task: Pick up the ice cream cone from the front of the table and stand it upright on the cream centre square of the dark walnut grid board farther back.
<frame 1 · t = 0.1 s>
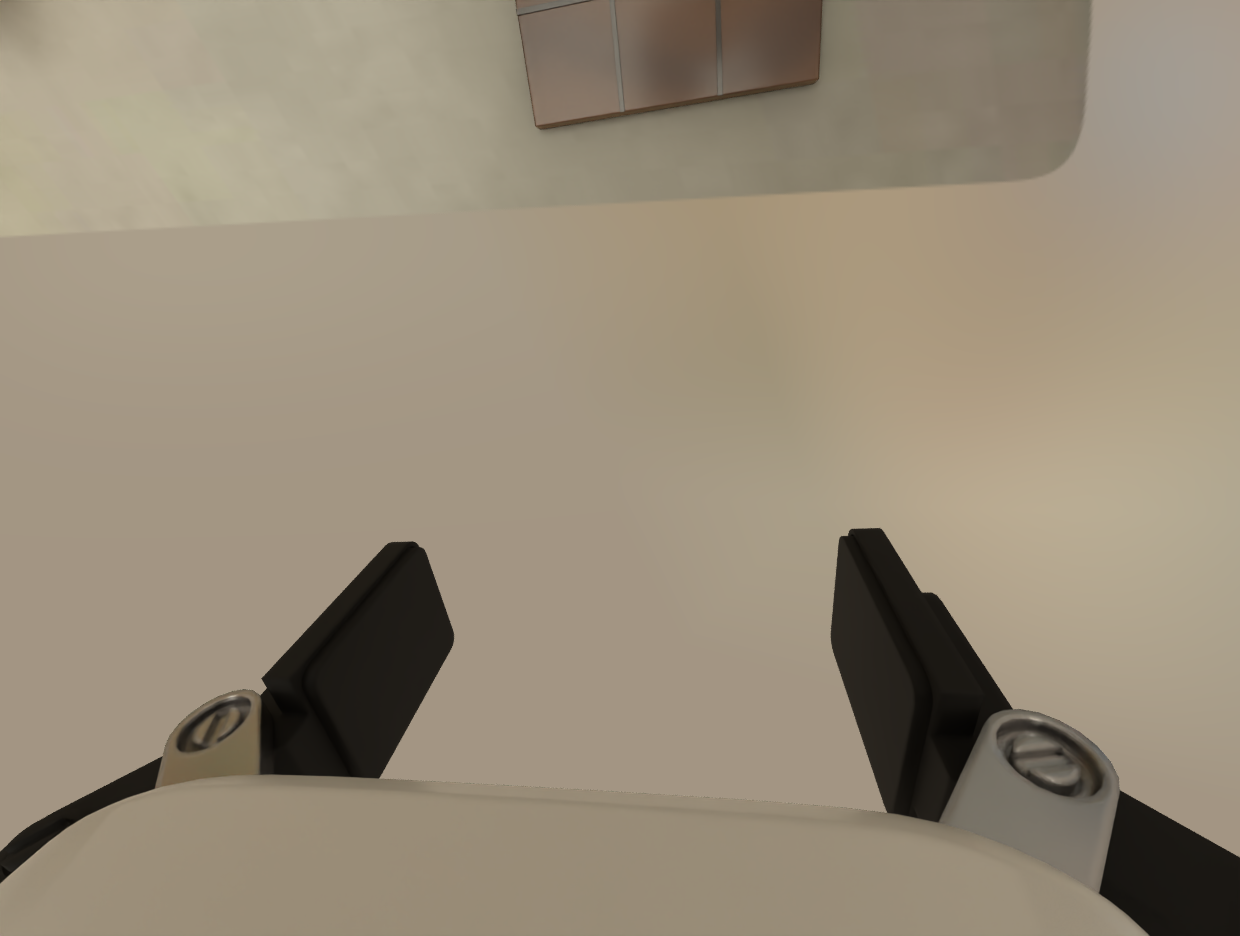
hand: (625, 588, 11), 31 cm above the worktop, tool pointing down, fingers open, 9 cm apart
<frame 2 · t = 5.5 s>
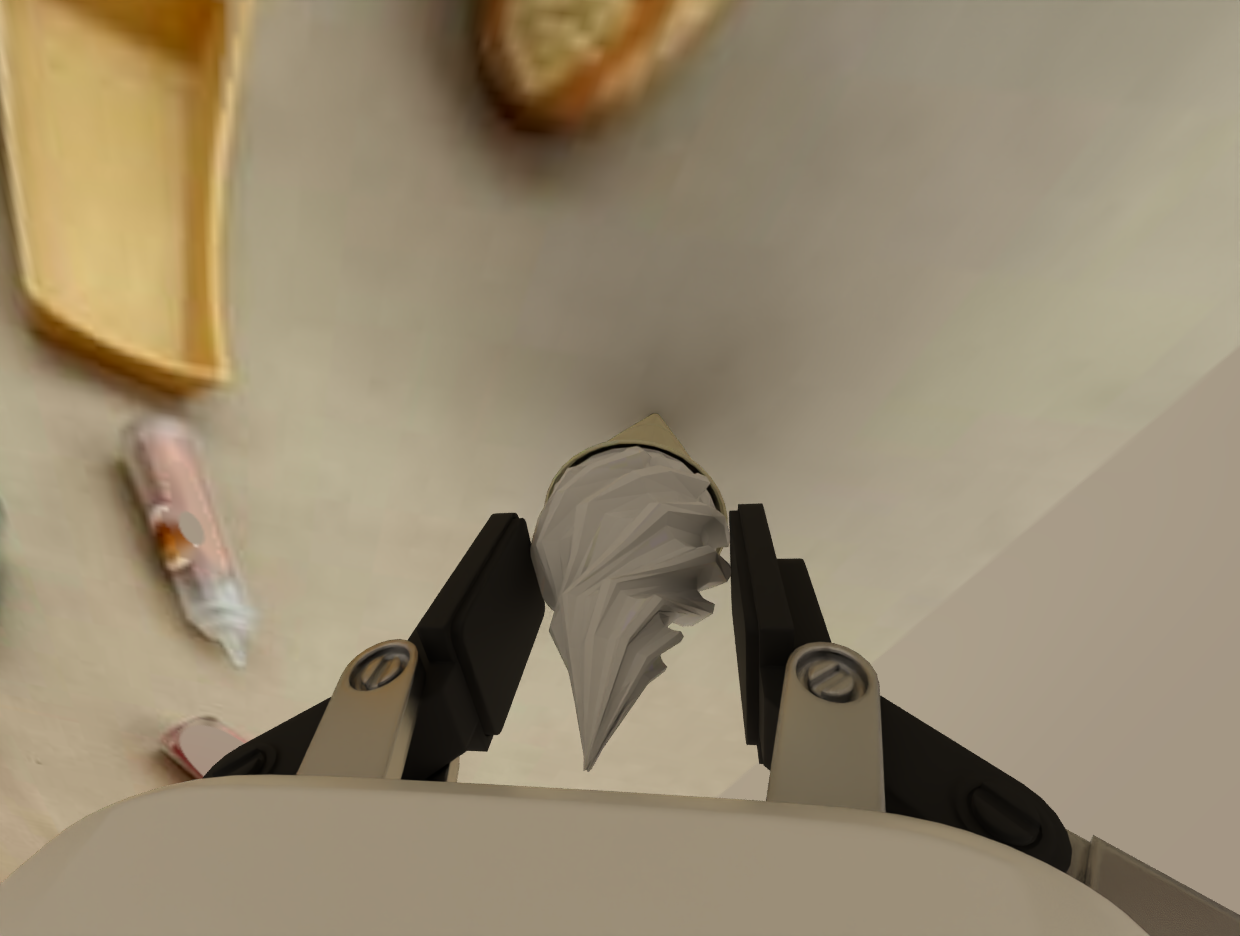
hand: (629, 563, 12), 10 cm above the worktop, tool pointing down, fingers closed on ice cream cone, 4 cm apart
ice cream cone: (655, 416, 21), on the worktop, touching gripper
when the fingers open (11 cm above the worktop, at t = 14.6 s): ice cream cone stays where it is, resting on grid board.
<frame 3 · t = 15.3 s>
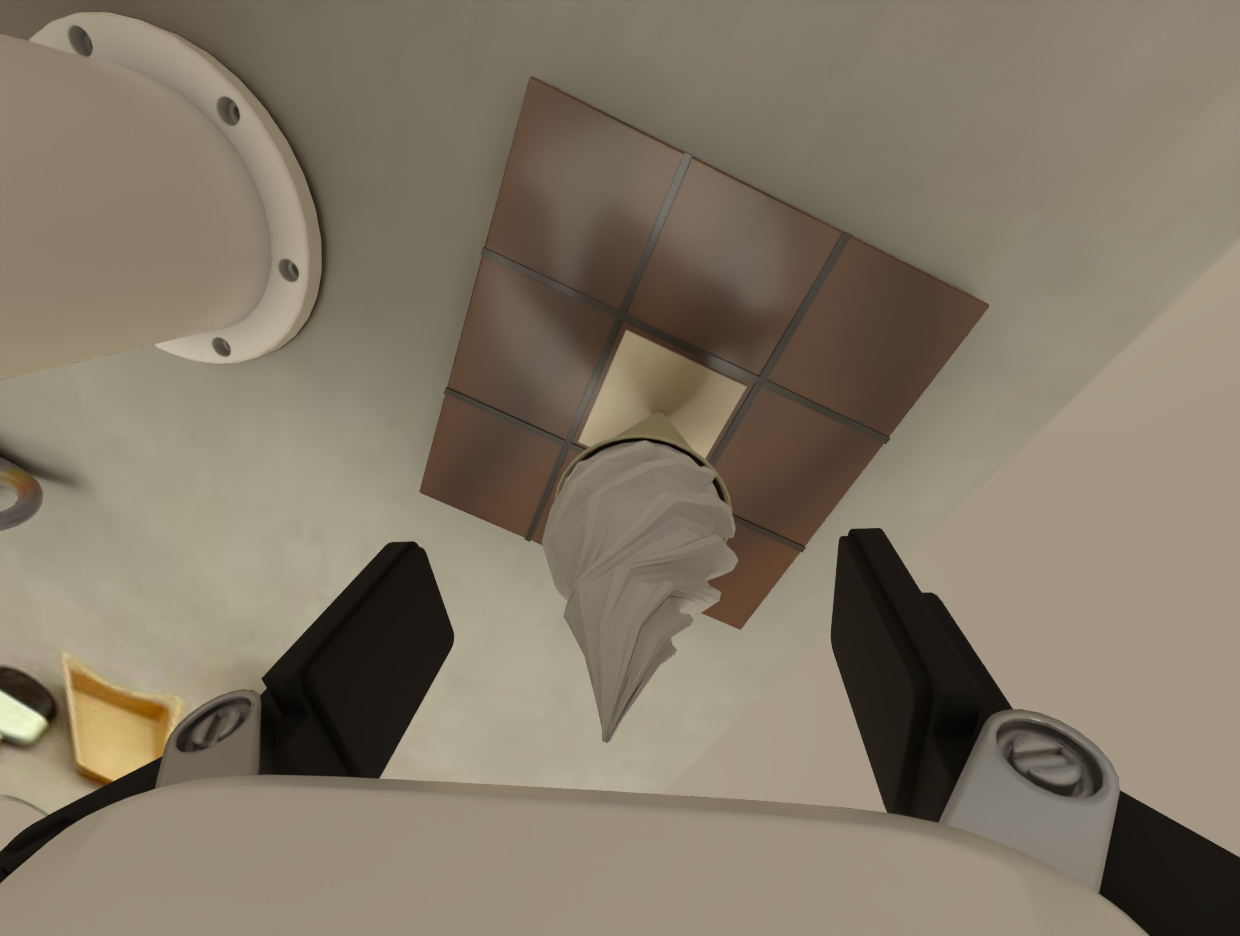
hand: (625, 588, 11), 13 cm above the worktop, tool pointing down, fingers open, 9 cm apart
ice cream cone: (659, 414, 21), point 1 cm above the worktop, touching grid board
grid board: (660, 405, 22), on the worktop
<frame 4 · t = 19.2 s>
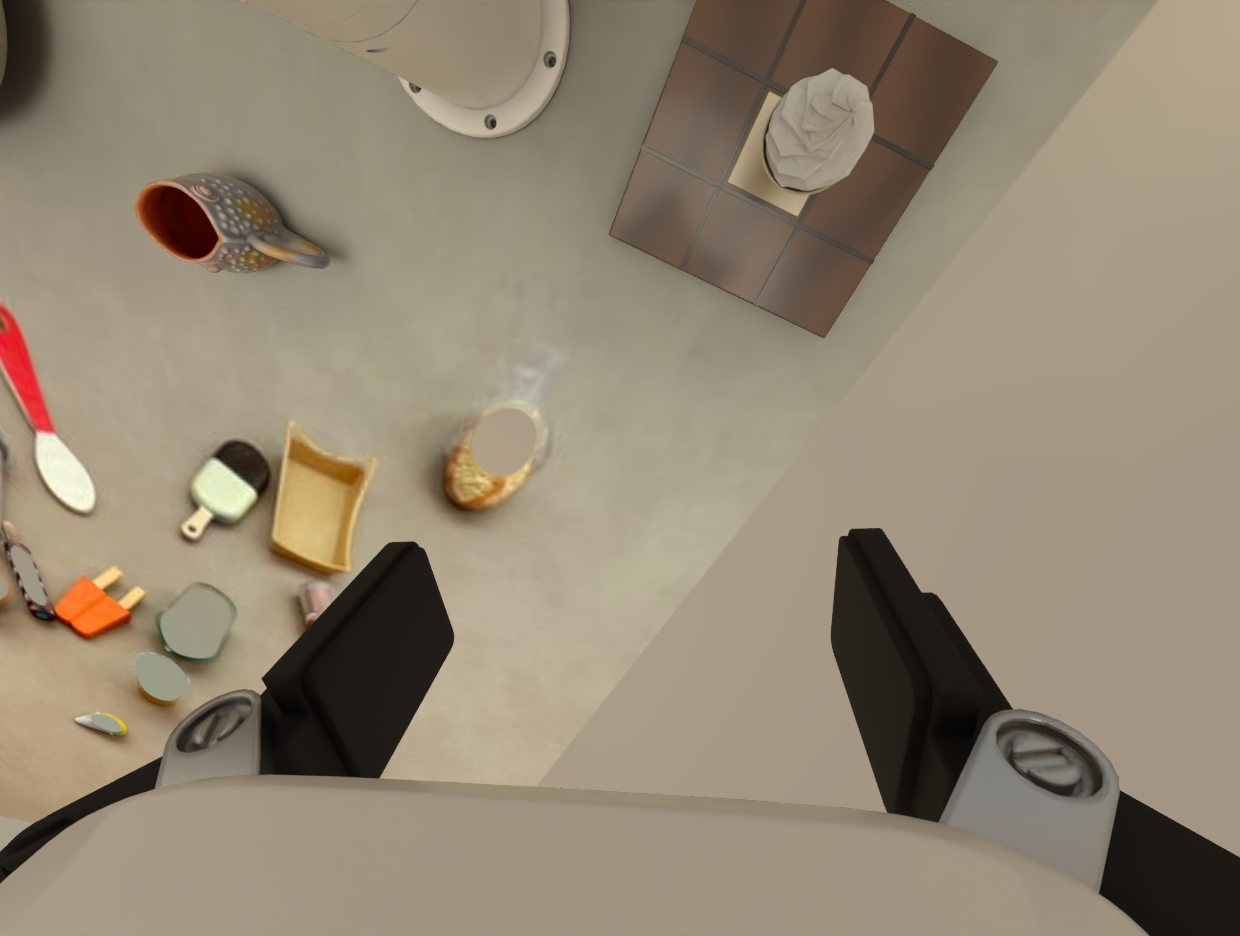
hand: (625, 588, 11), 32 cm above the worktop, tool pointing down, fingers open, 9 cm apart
ice cream cone: (783, 157, 33), point 1 cm above the worktop, touching grid board
mug: (282, 236, 41), on the worktop
grid board: (780, 159, 34), on the worktop
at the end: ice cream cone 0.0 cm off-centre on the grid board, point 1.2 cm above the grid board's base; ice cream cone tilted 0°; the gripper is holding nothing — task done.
